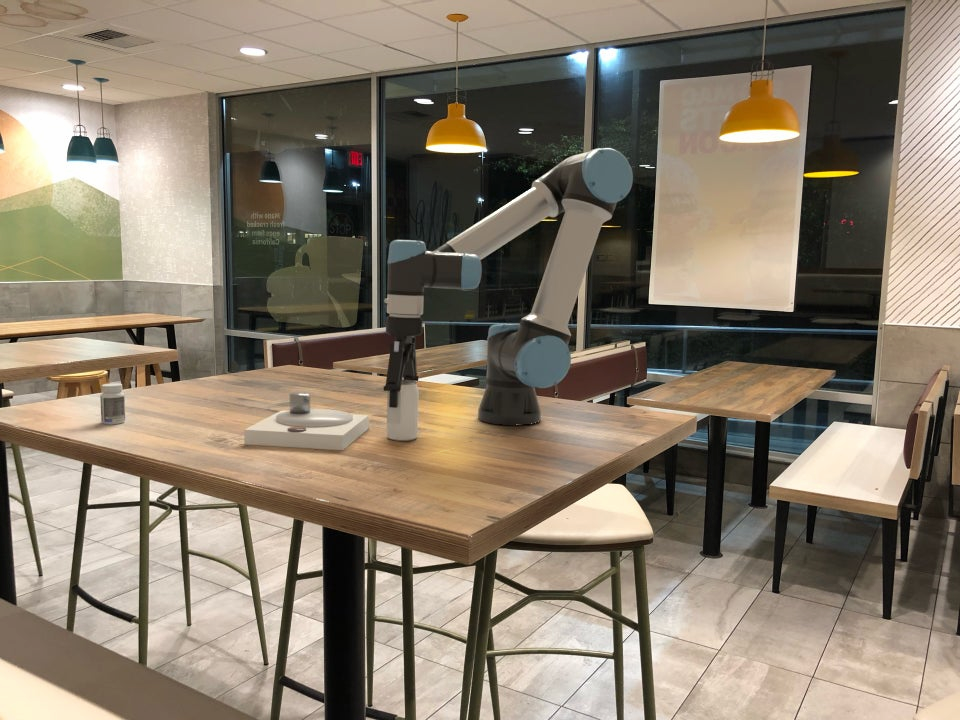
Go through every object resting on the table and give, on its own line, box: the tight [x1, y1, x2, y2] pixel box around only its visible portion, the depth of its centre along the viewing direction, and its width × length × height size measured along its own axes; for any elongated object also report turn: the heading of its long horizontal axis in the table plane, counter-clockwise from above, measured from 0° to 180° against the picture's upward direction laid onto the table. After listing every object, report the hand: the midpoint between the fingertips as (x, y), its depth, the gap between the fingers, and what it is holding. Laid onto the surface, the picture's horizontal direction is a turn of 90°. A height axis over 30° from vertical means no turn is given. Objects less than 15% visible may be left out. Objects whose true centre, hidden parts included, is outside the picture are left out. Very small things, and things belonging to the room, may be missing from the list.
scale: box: [243, 408, 370, 451], centre depth 157 cm, size 20×21×4 cm
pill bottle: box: [99, 382, 126, 425], centre depth 162 cm, size 5×5×8 cm
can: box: [386, 379, 419, 442], centre depth 157 cm, size 6×6×12 cm
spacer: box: [289, 391, 311, 414], centre depth 163 cm, size 4×4×4 cm
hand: (400, 416), depth 157 cm, fingers open, 13 cm apart
